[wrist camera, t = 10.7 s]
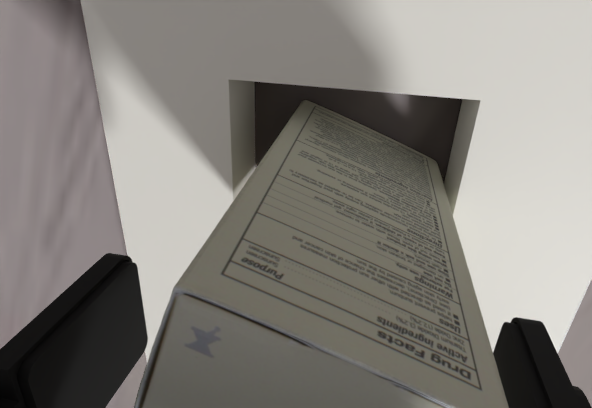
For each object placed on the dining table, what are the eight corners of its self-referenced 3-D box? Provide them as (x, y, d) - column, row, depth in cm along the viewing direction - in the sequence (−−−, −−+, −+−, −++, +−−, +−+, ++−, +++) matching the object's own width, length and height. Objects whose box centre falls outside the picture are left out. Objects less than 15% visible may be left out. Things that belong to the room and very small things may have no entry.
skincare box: (267, 181, 19) (112, 430, 9) (305, 91, 17) (158, 277, 6) (394, 241, 19) (391, 558, 9) (448, 159, 17) (532, 451, 7)
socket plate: (503, 386, 22) (521, 457, 19) (173, 325, 25) (141, 377, 22) (721, -173, 11) (847, -231, 8) (108, -164, 14) (25, -205, 11)
